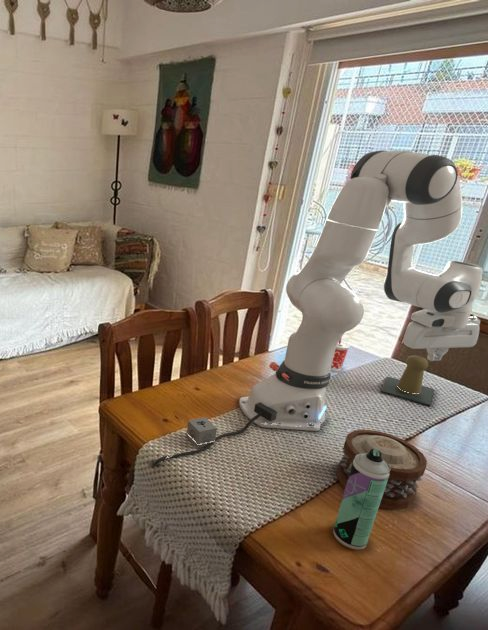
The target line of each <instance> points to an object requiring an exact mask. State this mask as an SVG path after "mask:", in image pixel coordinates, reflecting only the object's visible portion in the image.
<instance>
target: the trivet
mask: <svg viewBox="0 0 488 630" xmlns="http://www.w3.org/2000/svg"><path fill="white" fill-rule="evenodd" d="M399 380H400V378H395V377H392V376H386V377H385V380H384V382H383V385H382V388H381V389H380V393H381V394H385V395H389V396H392V397H396V398H400V399H402V400H406V401H410V402H413V403H416V404H420V405H424V406H426V407H431V404H432V400H433V395H434V391H435V389H434V388H432V387H429V386H425V385H422V387H421V393H420V394H419V395H410V394H406V393H403V392H401V391H399V390H398V389H397V388H396V386H397V384H398V382H399Z"/></svg>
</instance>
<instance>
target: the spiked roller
mask: <svg viewBox="0 0 488 630" xmlns="http://www.w3.org/2000/svg"><path fill="white" fill-rule="evenodd" d="M344 440H345V441H344V444H343V447H341V449H342V450H341V451H342V453H343V454H342V455H341V456H342V457H341V458H340V461H339V463H338V466H337V469H336V477H337V480H338V482H339V483H340V484H341V486H342V487H343V488H344V489H345V488H346V485H347V481H348V478H349V474H350V471H351V467H352V464H353V460H354V459H355V456H356V455H358V454H362V453H364V454H366V453H369V452H370V450H371V449H376V450H378V451H380V452H381V458H382V459H383V460H384V461H385V462H387V463H388V465H389V466H390V475H389V478H388V481H387V484H386V487H385V490H384V493H383V496H382V499H381V502H380V505H379V508H382V509H390V510H401V509H407V508H409V507H411V506H412V505H413V504H414V501H415V500H416V496H417V491H418V489H419V488H420V486H419V485H418V483H417V482H418V481H422V482H423V478H421V477H423V476H424V474H425V472H426V469H427V466H428V465H427V464H428V463H427V462H428V460H427V458H426V457H425V455H424V453H423V452H422V451H421V450H419V449H418V448H417V447H416V446H415V445H413V444H411V443H410V442H408V441H406V440H405V439H403V438H400V437H398V436H396V435H393V434H390V433H387V432H382V431H379V430H373V429H372V430H371V429H357V430H353V431H351V432H349V433H348V434H347V435H346V437H345V439H344Z"/></svg>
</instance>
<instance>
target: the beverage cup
mask: <svg viewBox="0 0 488 630" xmlns="http://www.w3.org/2000/svg"><path fill="white" fill-rule="evenodd" d="M342 338H343V336H342V337H341V339H340V341H339V342H338V344H337V347H336V349H335V353H334V357H333V360H332V364H331V368H330V370H331V372H341V371H342V368H343V365H344V362H345V361H346V360H345V359H346V358H347V357H346V356H347V354H348V351H349V350H350V347H351V345H350V344H349V343H347V342H344V341H342Z"/></svg>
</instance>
